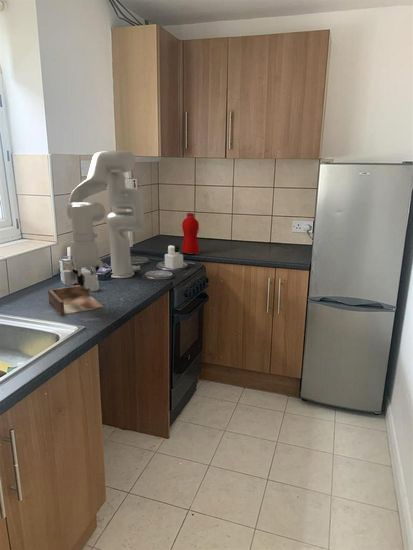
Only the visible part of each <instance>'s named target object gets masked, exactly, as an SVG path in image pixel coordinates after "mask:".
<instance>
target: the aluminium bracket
mask: <svg viewBox="0 0 413 550" xmlns="http://www.w3.org/2000/svg"><path fill="white" fill-rule="evenodd" d="M74 269H75V270H76V268H74ZM61 275H62V277H61V278H62V284H64V286H65V285H72V284H73V285H74V283H77V284H78V282H77V275H76V274H75V273H74V272H72V271H70V270H68V269H65V270H61ZM96 275H97V274H94V273H92V272H91V270H89V269H88V268H87V267H86V268H82V270H81V276H82V280H83V287H84V288H85V289H89V290H90V288H96Z"/></svg>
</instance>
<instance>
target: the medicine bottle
mask: <svg viewBox="0 0 413 550" xmlns="http://www.w3.org/2000/svg"><path fill="white" fill-rule="evenodd" d="M180 250H181V249H180V246H179V245H178V244H170V245H168V246H167V253H165V254H164V267H165V268H167V269H170V270H177V269H181V268H183V267H184V255H183V253H182V254H181V253H180Z"/></svg>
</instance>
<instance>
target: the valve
mask: <svg viewBox="0 0 413 550" xmlns="http://www.w3.org/2000/svg"><path fill="white" fill-rule="evenodd" d="M95 275H96V288H89V292H97V291H99V284H100V283H99V275H97V274H95ZM76 285H79V284H78V283H73V285H72V286H76Z"/></svg>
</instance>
